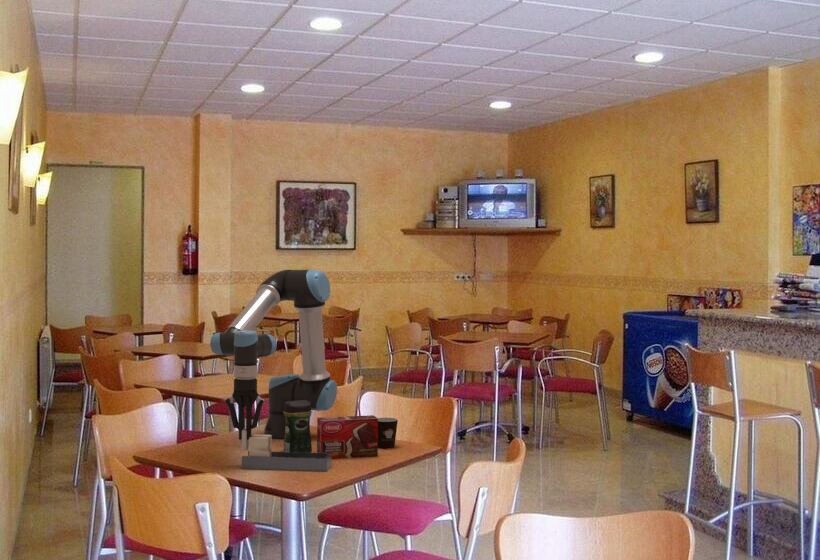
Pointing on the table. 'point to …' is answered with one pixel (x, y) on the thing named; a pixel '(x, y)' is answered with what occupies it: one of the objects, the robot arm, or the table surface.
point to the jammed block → (260, 445)
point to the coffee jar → (297, 426)
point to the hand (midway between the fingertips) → (245, 449)
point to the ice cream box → (348, 436)
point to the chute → (289, 461)
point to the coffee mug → (387, 432)
